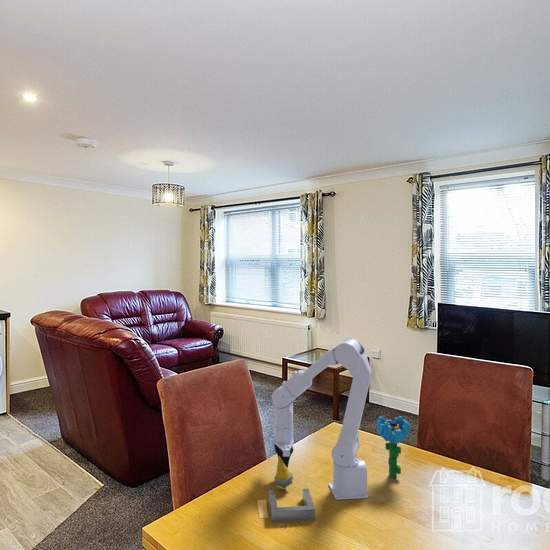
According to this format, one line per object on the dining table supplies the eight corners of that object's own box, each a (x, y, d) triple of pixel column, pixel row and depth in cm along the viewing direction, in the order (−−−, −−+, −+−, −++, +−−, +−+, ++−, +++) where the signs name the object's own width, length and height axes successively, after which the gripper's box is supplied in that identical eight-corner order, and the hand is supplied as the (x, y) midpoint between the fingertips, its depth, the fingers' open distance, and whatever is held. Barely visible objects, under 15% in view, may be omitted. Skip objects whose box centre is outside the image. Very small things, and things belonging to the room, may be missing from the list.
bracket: (308, 499, 112) (308, 488, 112) (315, 520, 103) (315, 509, 103) (268, 501, 111) (268, 490, 111) (271, 523, 102) (271, 511, 102)
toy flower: (374, 469, 129) (374, 414, 128) (401, 469, 129) (402, 413, 129) (383, 485, 120) (384, 425, 119) (412, 484, 120) (413, 424, 120)
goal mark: (265, 500, 112) (265, 499, 112) (268, 518, 104) (268, 517, 104) (257, 500, 111) (257, 500, 111) (259, 518, 103) (259, 517, 103)
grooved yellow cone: (293, 493, 114) (286, 458, 114) (275, 495, 115) (268, 460, 115) (296, 483, 119) (289, 450, 120) (278, 485, 120) (272, 452, 121)
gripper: (268, 416, 130) (268, 458, 130) (272, 435, 115) (272, 482, 116) (290, 416, 131) (290, 457, 131) (297, 434, 116) (296, 481, 116)
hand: (283, 469), depth 123 cm, fingers closed
